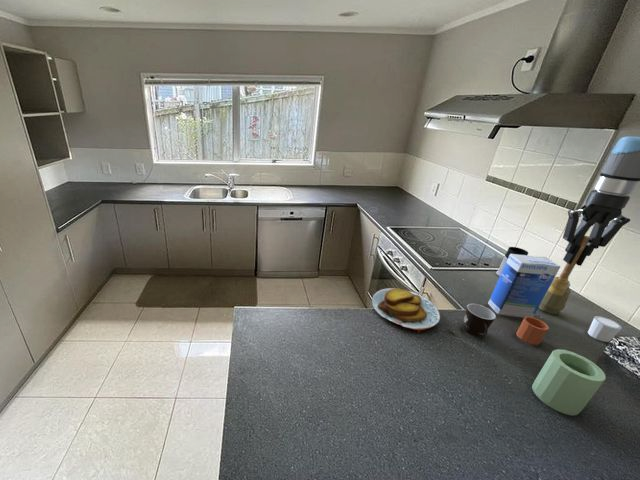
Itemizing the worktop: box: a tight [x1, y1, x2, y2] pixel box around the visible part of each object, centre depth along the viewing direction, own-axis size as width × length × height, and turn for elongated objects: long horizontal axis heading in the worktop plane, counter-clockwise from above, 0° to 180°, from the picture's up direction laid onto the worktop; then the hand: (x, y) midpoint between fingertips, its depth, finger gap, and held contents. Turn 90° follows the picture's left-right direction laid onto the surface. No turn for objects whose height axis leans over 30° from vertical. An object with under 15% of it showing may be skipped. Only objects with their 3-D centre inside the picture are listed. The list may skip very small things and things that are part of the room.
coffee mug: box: [461, 303, 497, 338], centre depth 104 cm, size 12×9×10 cm
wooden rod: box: [548, 235, 590, 296], centre depth 90 cm, size 4×4×21 cm
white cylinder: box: [587, 315, 623, 343], centre depth 106 cm, size 7×7×7 cm
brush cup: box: [515, 316, 550, 346], centre depth 103 cm, size 7×7×8 cm
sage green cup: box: [531, 348, 607, 416], centre depth 80 cm, size 10×10×14 cm
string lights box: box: [487, 254, 561, 319], centre depth 113 cm, size 13×8×26 cm, turn 80°
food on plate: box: [371, 287, 441, 334], centre depth 115 cm, size 25×25×7 cm
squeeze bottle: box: [538, 278, 571, 315], centre depth 117 cm, size 8×8×18 cm
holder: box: [495, 246, 529, 277], centre depth 139 cm, size 9×14×15 cm, turn 167°
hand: (571, 262), depth 90 cm, fingers closed on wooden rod, 2 cm apart
